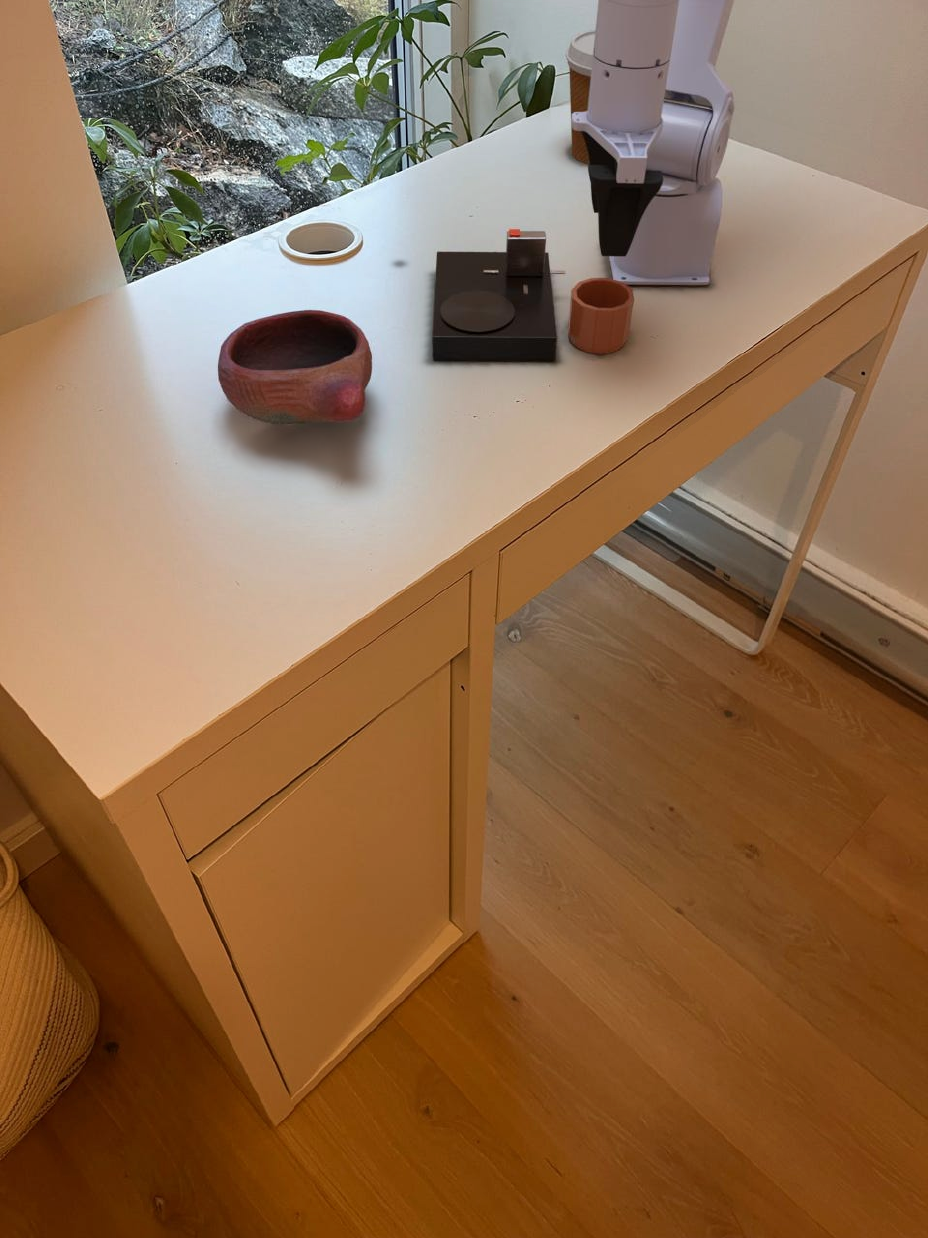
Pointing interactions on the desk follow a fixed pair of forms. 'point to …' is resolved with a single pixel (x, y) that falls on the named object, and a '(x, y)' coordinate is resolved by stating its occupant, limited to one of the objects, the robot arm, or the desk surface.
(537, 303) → the stove
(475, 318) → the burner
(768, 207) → the desk surface
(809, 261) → the desk surface
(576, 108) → the disposable coffee cup
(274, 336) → the bowl
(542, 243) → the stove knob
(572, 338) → the small cup
